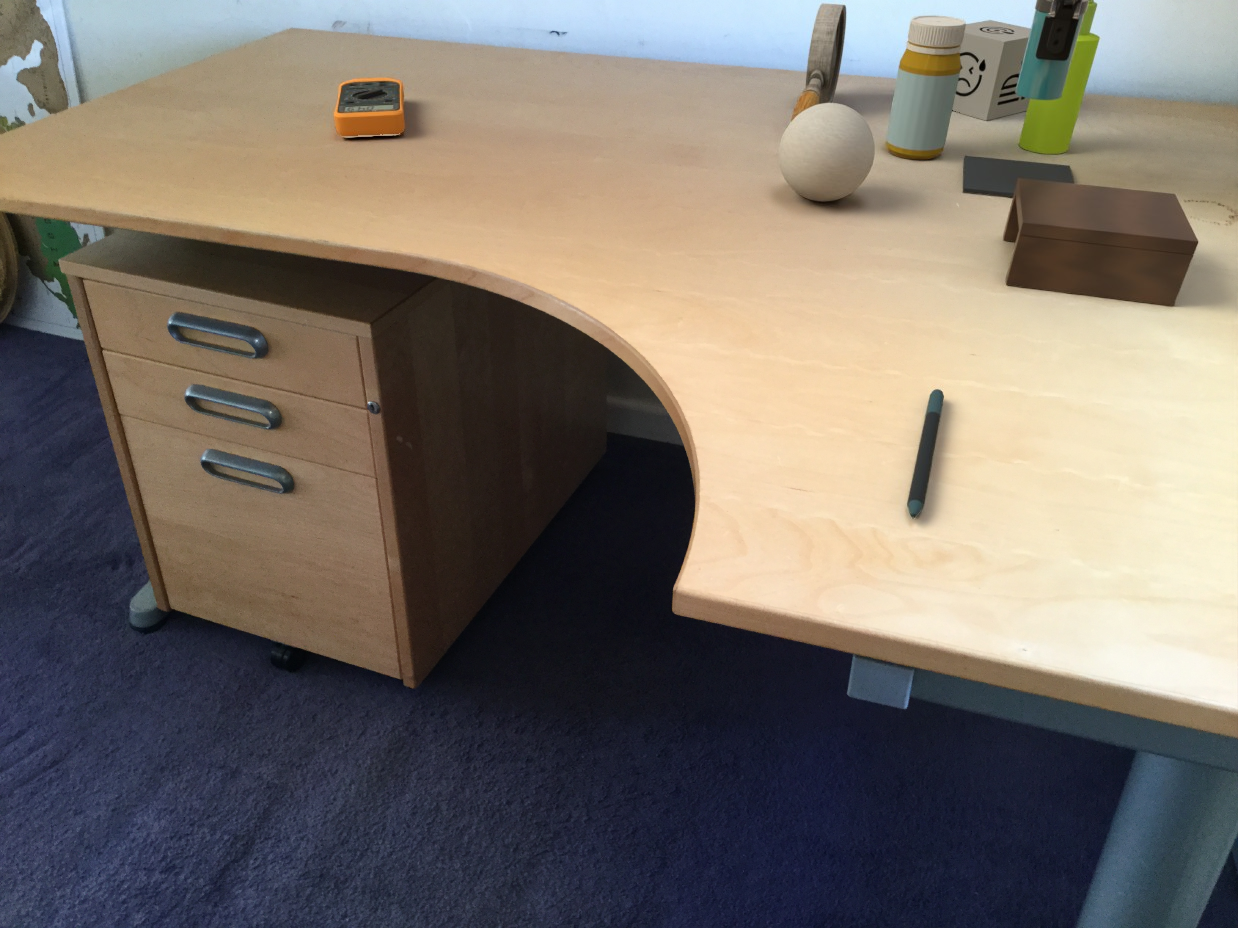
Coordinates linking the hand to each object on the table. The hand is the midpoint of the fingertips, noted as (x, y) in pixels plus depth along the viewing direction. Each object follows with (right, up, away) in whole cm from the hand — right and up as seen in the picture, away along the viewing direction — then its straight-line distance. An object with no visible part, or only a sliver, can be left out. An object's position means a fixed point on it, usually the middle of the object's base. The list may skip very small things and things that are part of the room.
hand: (1049, 51), depth 100 cm
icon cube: (+5, +7, +33) cm, 34 cm away
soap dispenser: (+8, -4, +18) cm, 20 cm away
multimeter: (-79, +2, +26) cm, 83 cm away
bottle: (-9, -5, +16) cm, 20 cm away
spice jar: (0, -4, +3) cm, 4 cm away
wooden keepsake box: (-2, -26, -12) cm, 28 cm away
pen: (-25, -44, -36) cm, 62 cm away
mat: (0, -11, +8) cm, 14 cm away
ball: (-24, -15, +3) cm, 28 cm away
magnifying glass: (-19, +4, +29) cm, 35 cm away
